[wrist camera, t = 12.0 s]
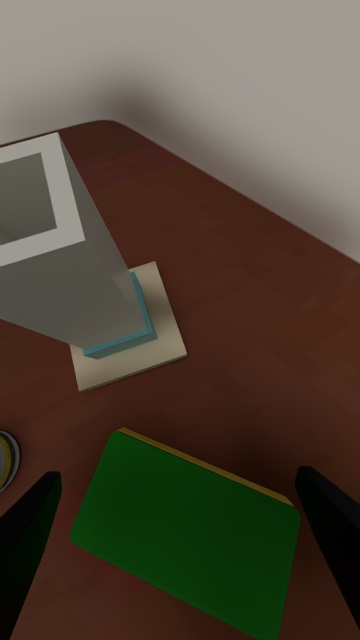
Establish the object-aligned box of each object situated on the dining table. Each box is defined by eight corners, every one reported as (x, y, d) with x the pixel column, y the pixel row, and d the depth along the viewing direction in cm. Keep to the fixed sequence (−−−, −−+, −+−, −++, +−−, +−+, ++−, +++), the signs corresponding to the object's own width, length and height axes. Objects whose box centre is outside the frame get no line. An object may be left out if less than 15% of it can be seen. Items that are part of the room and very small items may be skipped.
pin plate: (187, 356, 20) (186, 347, 16) (87, 390, 19) (58, 391, 15) (157, 269, 22) (149, 241, 18) (67, 298, 22) (38, 276, 18)
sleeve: (157, 338, 19) (97, 245, 6) (97, 359, 19) (-88, 303, 6) (140, 284, 20) (64, 123, 8) (84, 303, 20) (-87, 166, 8)
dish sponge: (121, 424, 19) (112, 429, 17) (287, 495, 17) (303, 512, 15) (82, 520, 17) (65, 541, 15) (263, 612, 15) (276, 652, 13)
